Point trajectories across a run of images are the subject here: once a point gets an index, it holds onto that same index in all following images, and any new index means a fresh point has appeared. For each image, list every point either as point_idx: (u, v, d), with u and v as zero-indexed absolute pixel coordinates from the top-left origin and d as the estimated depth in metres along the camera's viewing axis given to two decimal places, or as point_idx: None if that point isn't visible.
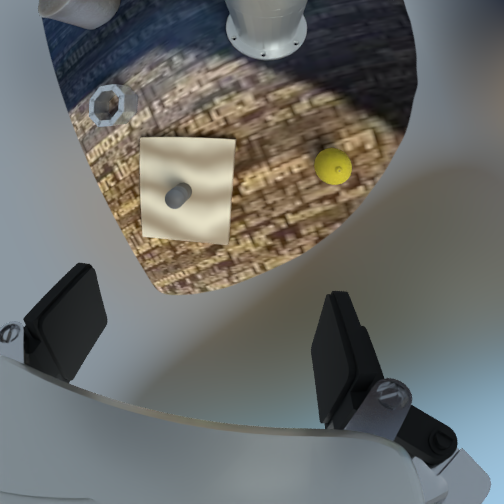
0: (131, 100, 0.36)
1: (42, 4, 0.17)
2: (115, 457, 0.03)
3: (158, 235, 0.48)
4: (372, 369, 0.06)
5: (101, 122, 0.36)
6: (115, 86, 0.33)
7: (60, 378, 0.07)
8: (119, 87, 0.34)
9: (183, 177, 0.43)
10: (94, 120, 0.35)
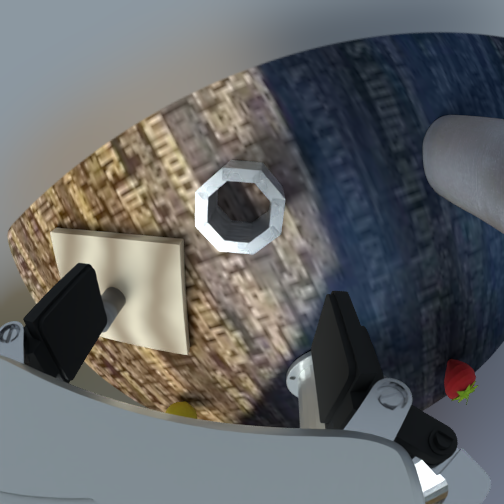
0: None
1: None
2: (115, 457, 0.03)
3: (57, 255, 0.29)
4: (372, 369, 0.06)
5: (204, 200, 0.21)
6: (275, 235, 0.22)
7: (60, 378, 0.07)
8: None
9: (131, 299, 0.31)
10: (210, 182, 0.21)
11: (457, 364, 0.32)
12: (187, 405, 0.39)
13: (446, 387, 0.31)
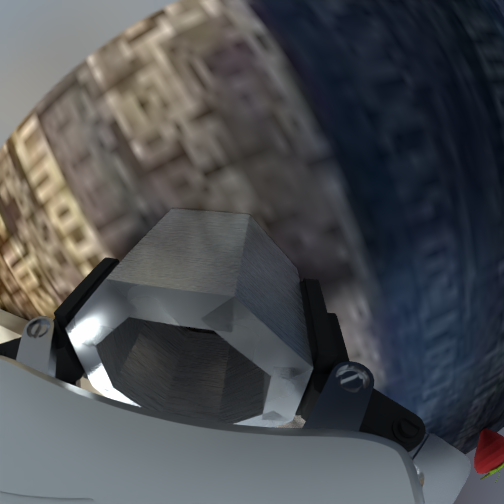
0: None
1: None
2: (115, 457, 0.03)
3: None
4: (333, 350, 0.07)
5: (90, 349, 0.07)
6: (277, 422, 0.08)
7: None
8: None
9: None
10: (88, 314, 0.06)
11: (493, 440, 0.17)
12: None
13: (477, 464, 0.17)
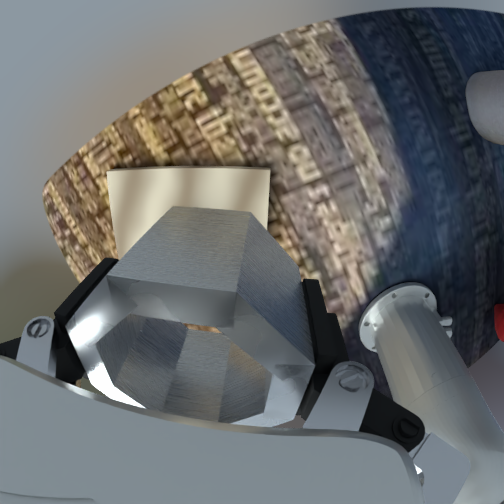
0: None
1: None
2: (115, 457, 0.03)
3: (112, 198, 0.28)
4: (333, 350, 0.07)
5: (90, 347, 0.07)
6: (278, 421, 0.08)
7: None
8: None
9: None
10: (88, 311, 0.06)
11: None
12: None
13: (499, 328, 0.30)
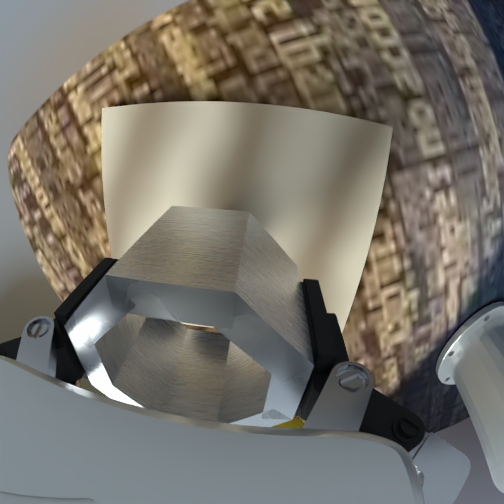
0: None
1: None
2: (115, 457, 0.03)
3: (107, 155, 0.15)
4: (333, 350, 0.07)
5: (89, 347, 0.07)
6: (277, 421, 0.08)
7: None
8: None
9: None
10: (87, 311, 0.06)
11: None
12: (296, 419, 0.26)
13: None
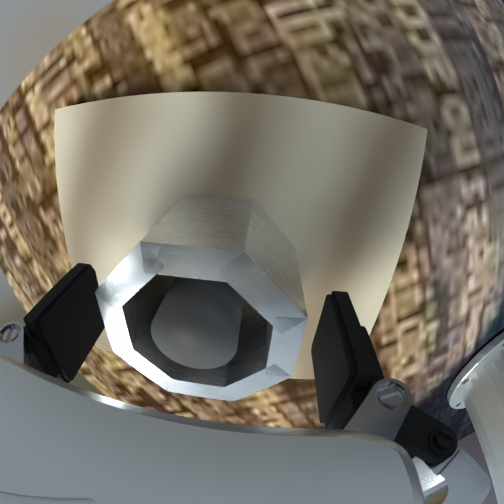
0: None
1: None
2: (115, 457, 0.03)
3: (62, 168, 0.11)
4: (373, 369, 0.06)
5: (116, 311, 0.08)
6: (278, 378, 0.09)
7: (60, 378, 0.07)
8: None
9: None
10: (119, 276, 0.08)
11: None
12: None
13: None
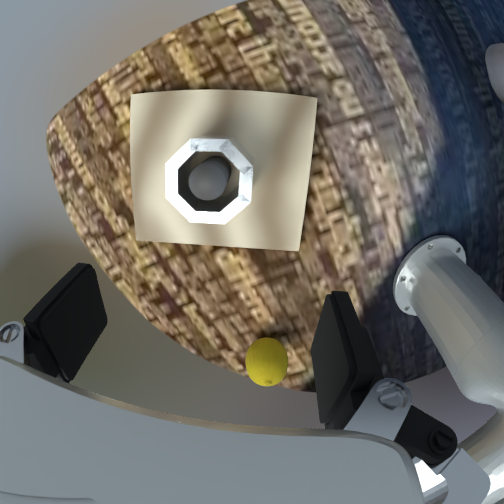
0: None
1: None
2: (115, 457, 0.03)
3: (134, 124, 0.23)
4: (372, 368, 0.06)
5: (174, 172, 0.21)
6: (244, 203, 0.22)
7: (60, 378, 0.07)
8: None
9: None
10: (179, 154, 0.20)
11: None
12: (275, 339, 0.35)
13: None
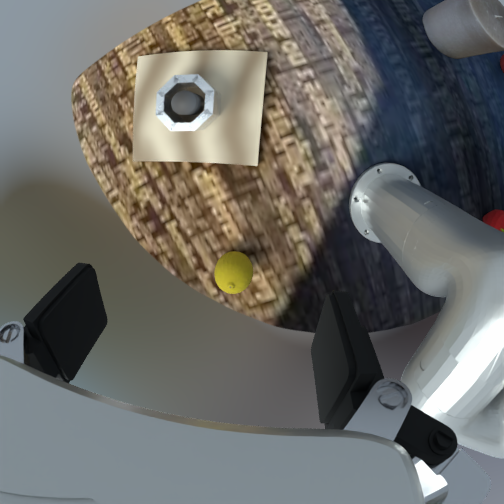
0: None
1: None
2: (115, 457, 0.03)
3: (139, 76, 0.30)
4: (372, 369, 0.06)
5: (162, 97, 0.27)
6: (208, 115, 0.28)
7: (60, 378, 0.07)
8: (207, 119, 0.29)
9: None
10: (166, 85, 0.27)
11: None
12: None
13: None
